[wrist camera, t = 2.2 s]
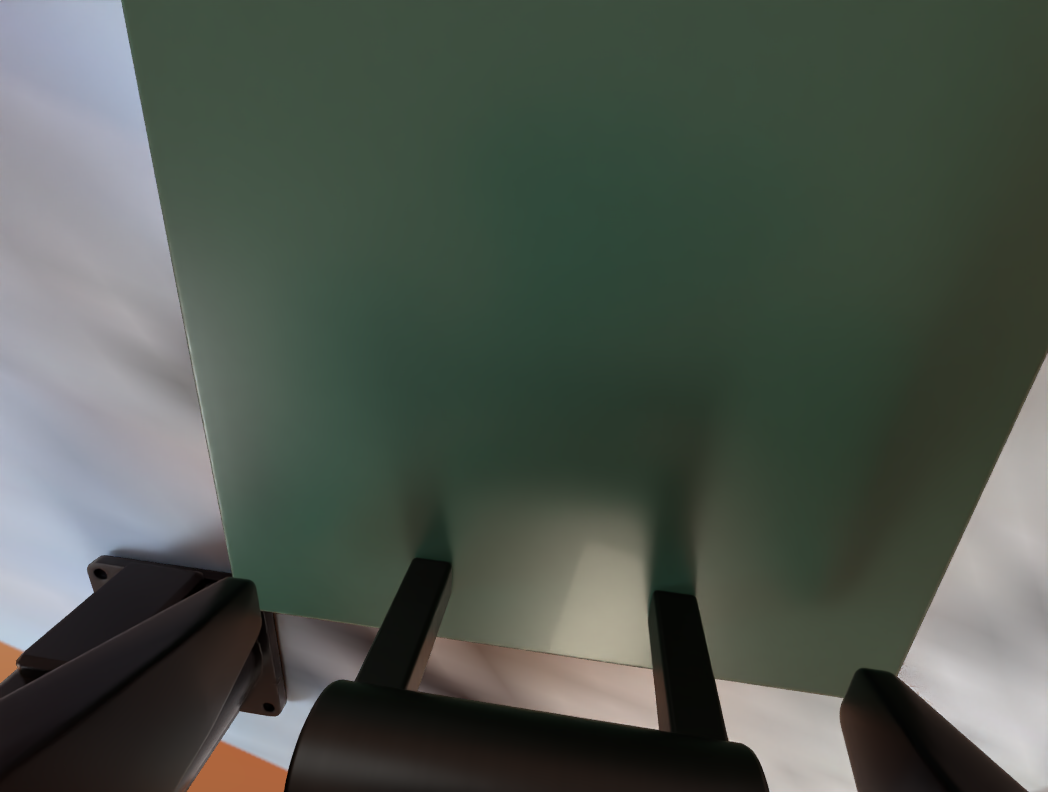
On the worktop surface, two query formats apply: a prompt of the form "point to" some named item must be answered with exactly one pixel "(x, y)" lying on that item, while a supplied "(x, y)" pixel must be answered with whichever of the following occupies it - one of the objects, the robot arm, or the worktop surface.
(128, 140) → the worktop surface
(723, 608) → the lid
